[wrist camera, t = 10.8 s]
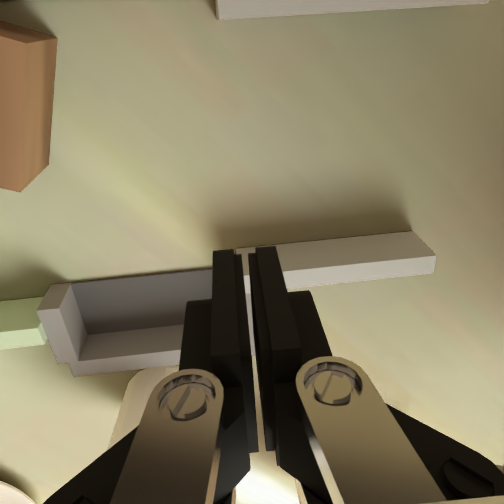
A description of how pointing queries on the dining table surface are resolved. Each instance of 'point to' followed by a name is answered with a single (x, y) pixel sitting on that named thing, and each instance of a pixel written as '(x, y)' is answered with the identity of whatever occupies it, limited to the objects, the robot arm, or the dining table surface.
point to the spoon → (13, 495)
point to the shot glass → (137, 399)
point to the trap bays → (123, 320)
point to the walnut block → (25, 103)
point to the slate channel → (292, 254)
